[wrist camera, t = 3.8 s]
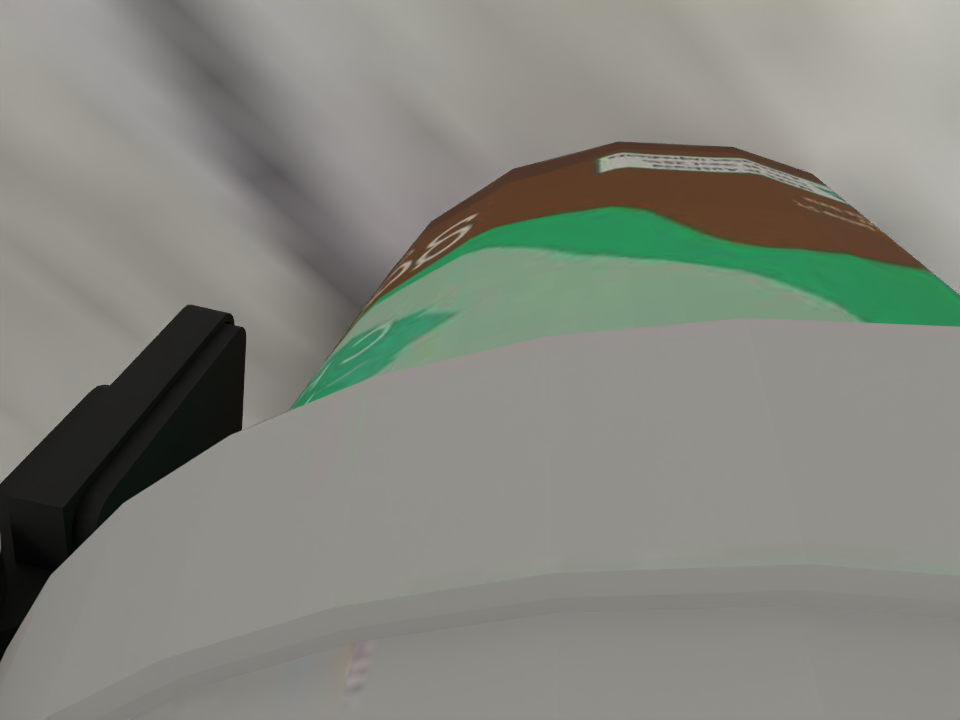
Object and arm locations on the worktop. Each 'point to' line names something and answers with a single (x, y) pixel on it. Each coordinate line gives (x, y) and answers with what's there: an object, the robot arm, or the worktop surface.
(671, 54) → the worktop surface
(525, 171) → the food container
